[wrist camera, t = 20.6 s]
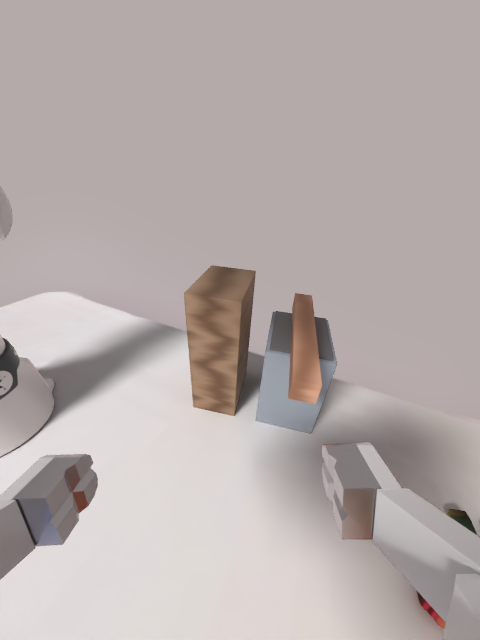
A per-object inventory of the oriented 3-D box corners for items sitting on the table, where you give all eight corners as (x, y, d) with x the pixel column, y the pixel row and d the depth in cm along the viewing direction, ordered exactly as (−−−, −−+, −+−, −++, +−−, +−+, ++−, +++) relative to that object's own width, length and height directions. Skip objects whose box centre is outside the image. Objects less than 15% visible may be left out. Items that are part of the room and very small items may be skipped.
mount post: (193, 406, 44) (183, 293, 31) (212, 364, 54) (211, 265, 41) (234, 416, 43) (241, 301, 30) (246, 371, 53) (255, 271, 40)
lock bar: (288, 398, 26) (292, 379, 24) (292, 307, 44) (295, 293, 42) (315, 404, 25) (322, 385, 24) (308, 309, 44) (311, 295, 42)
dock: (255, 420, 42) (265, 348, 33) (263, 374, 52) (273, 309, 43) (311, 433, 41) (338, 361, 31) (308, 383, 51) (328, 317, 41)
